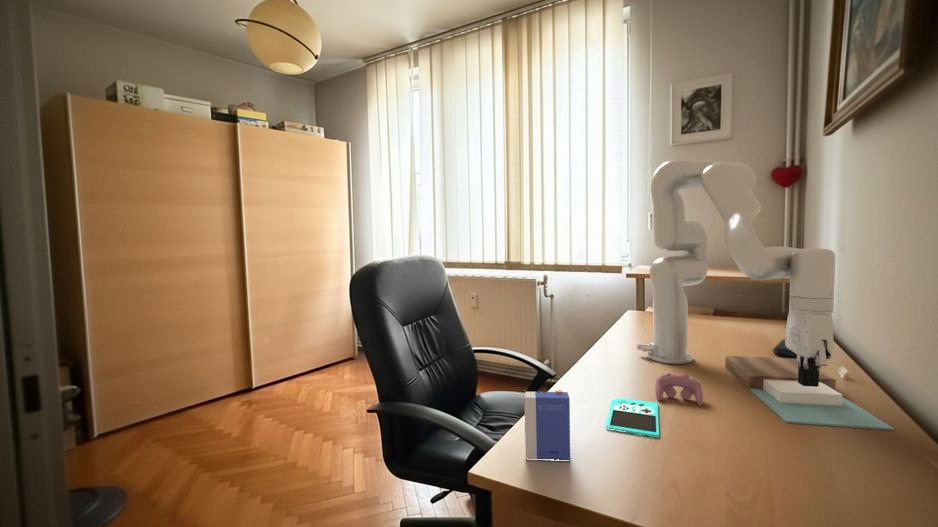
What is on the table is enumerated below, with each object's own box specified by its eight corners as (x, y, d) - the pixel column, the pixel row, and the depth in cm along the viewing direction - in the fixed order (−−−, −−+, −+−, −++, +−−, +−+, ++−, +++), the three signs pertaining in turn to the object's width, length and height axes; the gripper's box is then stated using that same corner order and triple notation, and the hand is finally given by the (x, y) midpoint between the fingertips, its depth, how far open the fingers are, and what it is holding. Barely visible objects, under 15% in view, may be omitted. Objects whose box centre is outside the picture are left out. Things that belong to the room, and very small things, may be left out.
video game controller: (701, 407, 95) (700, 376, 98) (704, 406, 92) (702, 374, 94) (655, 401, 99) (655, 372, 102) (655, 400, 95) (655, 369, 98)
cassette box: (779, 402, 92) (780, 391, 92) (763, 388, 100) (763, 379, 100) (842, 405, 90) (842, 395, 90) (820, 391, 98) (820, 381, 97)
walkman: (568, 453, 75) (567, 390, 74) (570, 462, 72) (569, 396, 71) (524, 452, 76) (523, 389, 75) (525, 460, 73) (523, 395, 72)
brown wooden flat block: (749, 389, 101) (749, 375, 101) (725, 367, 117) (725, 355, 116) (835, 393, 97) (835, 379, 97) (798, 371, 112) (799, 358, 112)
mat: (786, 422, 84) (786, 420, 84) (749, 389, 101) (749, 388, 101) (893, 430, 79) (893, 428, 79) (836, 394, 96) (836, 393, 96)
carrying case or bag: (816, 364, 119) (823, 352, 129) (816, 353, 118) (823, 343, 128) (771, 356, 126) (780, 346, 136) (771, 347, 126) (781, 337, 136)
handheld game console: (658, 407, 94) (658, 402, 94) (660, 441, 79) (660, 434, 79) (612, 401, 98) (612, 396, 98) (605, 432, 83) (605, 426, 83)
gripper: (774, 298, 99) (772, 372, 100) (810, 310, 84) (807, 397, 86) (811, 298, 97) (808, 374, 98) (853, 311, 82) (850, 399, 84)
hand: (808, 384), depth 92 cm, fingers closed
